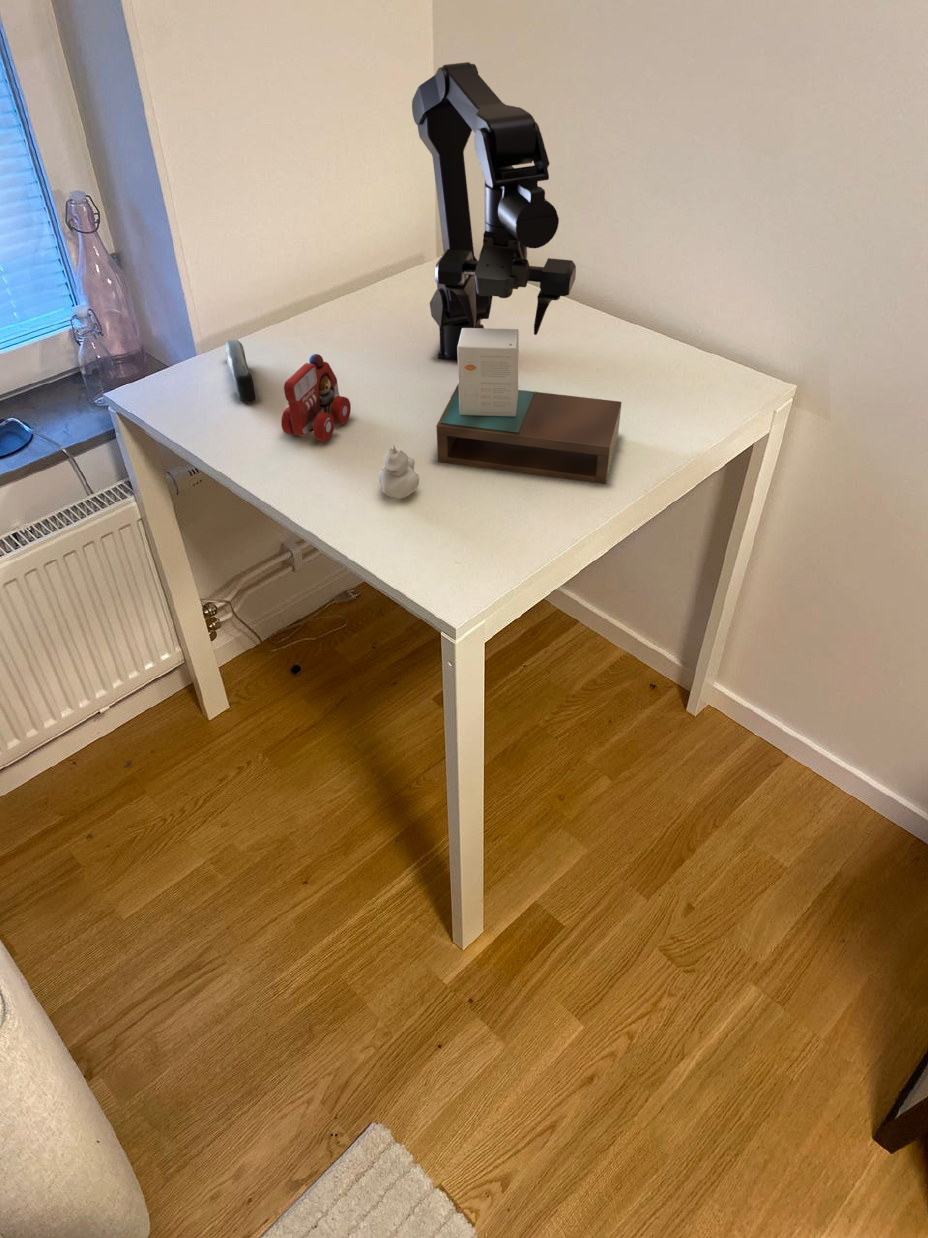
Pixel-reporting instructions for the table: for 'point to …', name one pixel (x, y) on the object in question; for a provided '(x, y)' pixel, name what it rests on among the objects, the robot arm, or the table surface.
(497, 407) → the small box
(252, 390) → the mobile phone
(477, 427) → the shelf
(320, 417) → the toy fire truck
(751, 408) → the table surface
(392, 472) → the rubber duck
